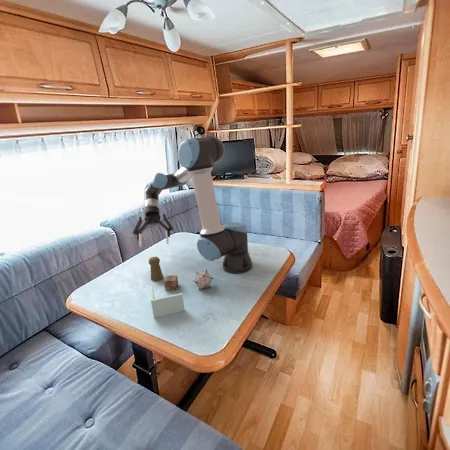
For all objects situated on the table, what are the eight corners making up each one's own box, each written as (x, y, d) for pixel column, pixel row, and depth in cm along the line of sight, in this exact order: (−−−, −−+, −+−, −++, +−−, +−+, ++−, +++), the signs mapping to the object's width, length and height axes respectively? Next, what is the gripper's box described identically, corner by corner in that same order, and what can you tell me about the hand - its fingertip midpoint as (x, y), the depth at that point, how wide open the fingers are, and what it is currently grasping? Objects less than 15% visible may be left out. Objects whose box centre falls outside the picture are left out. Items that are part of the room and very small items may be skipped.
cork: (157, 282, 137) (153, 261, 133) (148, 279, 140) (144, 259, 136) (165, 276, 142) (162, 256, 138) (157, 274, 145) (153, 254, 141)
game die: (207, 296, 129) (209, 287, 121) (190, 289, 129) (190, 280, 121) (214, 279, 134) (216, 269, 126) (197, 273, 135) (198, 263, 127)
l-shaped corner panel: (184, 310, 113) (182, 294, 111) (154, 317, 110) (150, 301, 108) (180, 295, 124) (178, 279, 122) (152, 301, 121) (149, 285, 119)
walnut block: (178, 284, 133) (177, 275, 132) (176, 290, 129) (175, 280, 127) (167, 285, 134) (166, 275, 132) (165, 290, 129) (163, 281, 127)
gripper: (175, 209, 160) (179, 244, 151) (130, 214, 157) (130, 250, 148) (174, 202, 153) (177, 238, 144) (126, 207, 150) (127, 244, 141)
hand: (154, 244), depth 146 cm, fingers open, 13 cm apart
